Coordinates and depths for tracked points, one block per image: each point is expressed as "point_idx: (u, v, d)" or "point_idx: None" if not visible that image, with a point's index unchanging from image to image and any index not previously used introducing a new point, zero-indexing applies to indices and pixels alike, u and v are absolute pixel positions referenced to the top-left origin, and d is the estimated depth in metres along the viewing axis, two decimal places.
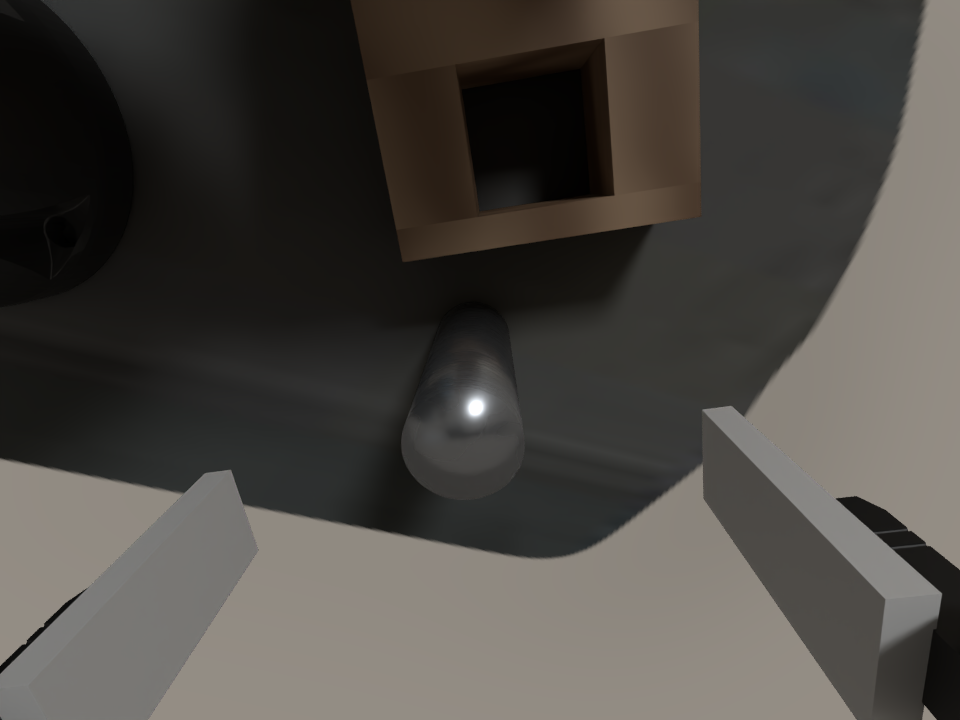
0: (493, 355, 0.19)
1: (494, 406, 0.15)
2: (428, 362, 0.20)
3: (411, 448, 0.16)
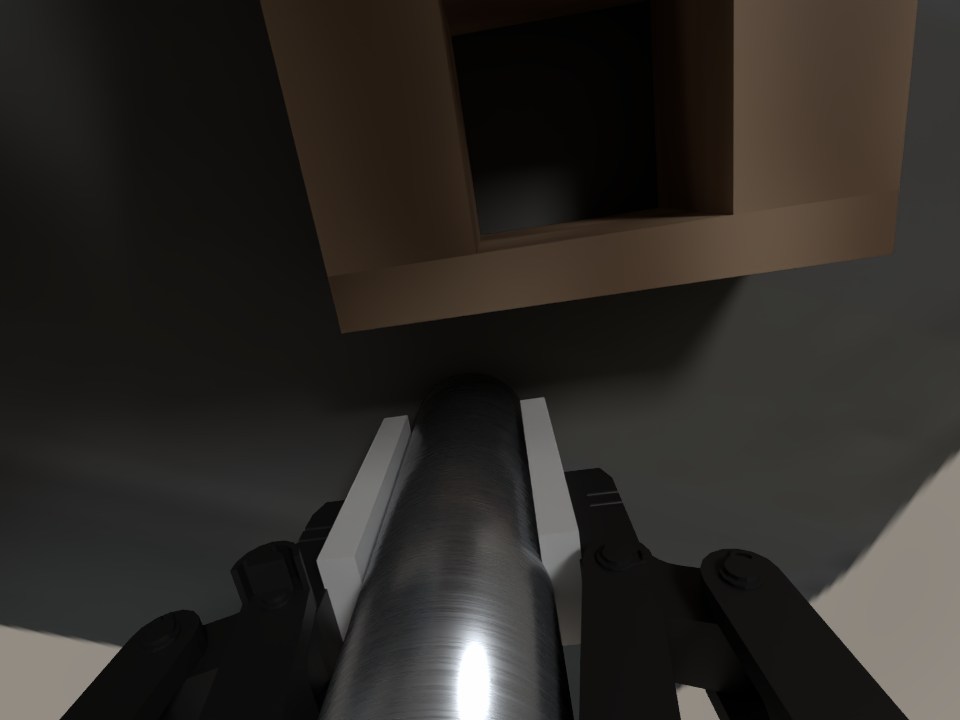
0: (509, 531, 0.10)
1: None
2: (384, 530, 0.10)
3: None
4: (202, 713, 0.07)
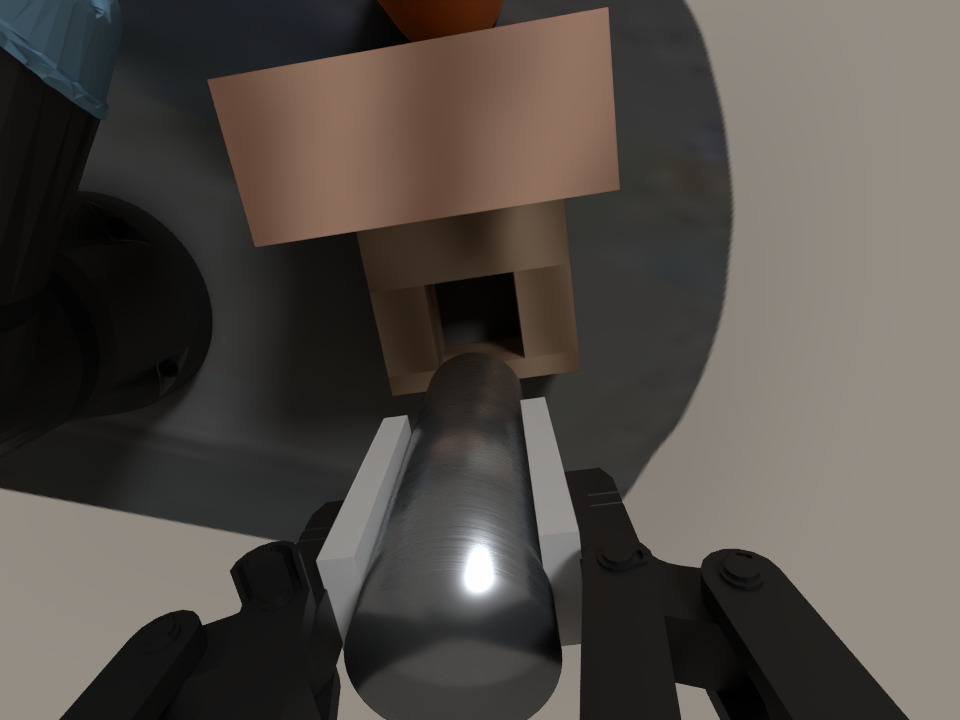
0: (505, 462, 0.12)
1: (508, 600, 0.08)
2: (405, 466, 0.13)
3: (363, 663, 0.09)
4: (202, 713, 0.07)
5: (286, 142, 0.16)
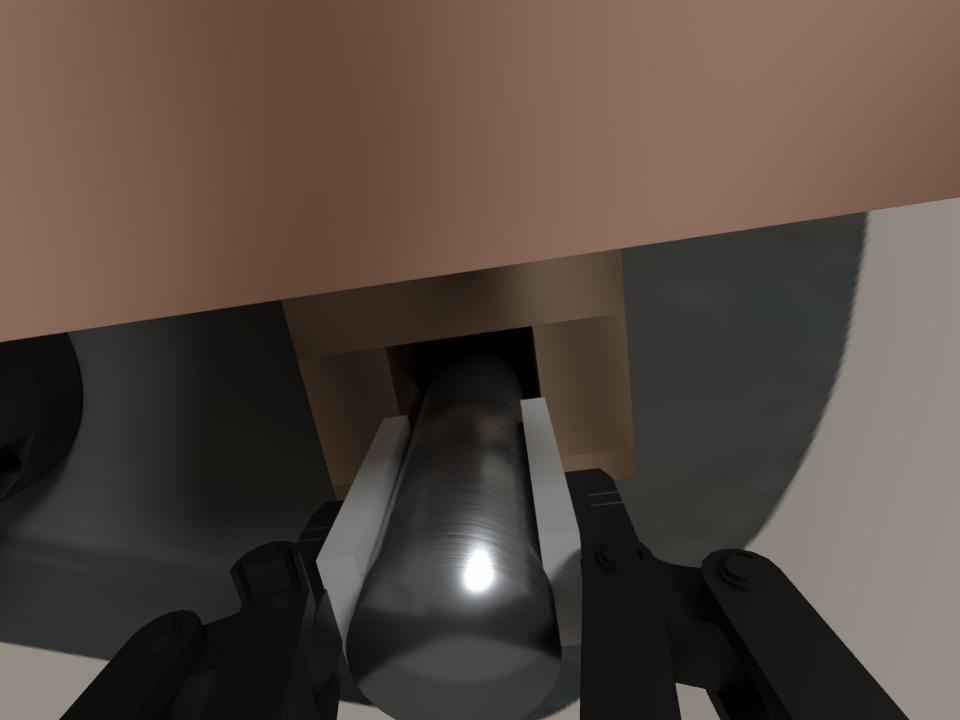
0: (504, 460, 0.12)
1: (508, 596, 0.09)
2: (405, 465, 0.13)
3: (364, 658, 0.09)
4: (201, 713, 0.07)
5: None
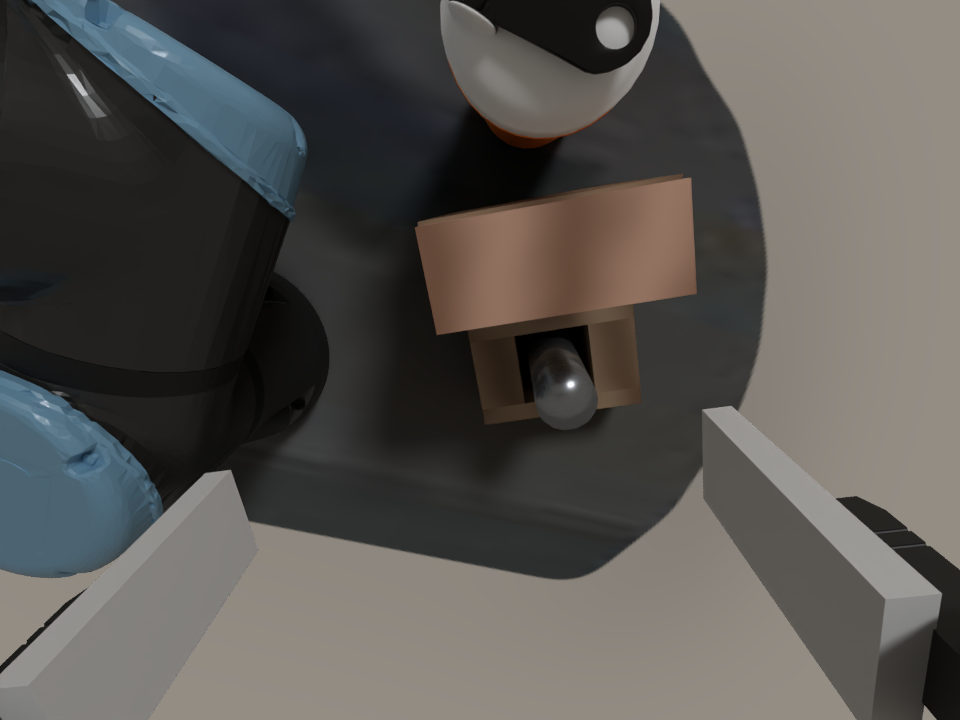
0: (574, 356, 0.35)
1: (583, 380, 0.31)
2: (536, 361, 0.35)
3: (540, 403, 0.31)
4: None
5: (464, 266, 0.23)
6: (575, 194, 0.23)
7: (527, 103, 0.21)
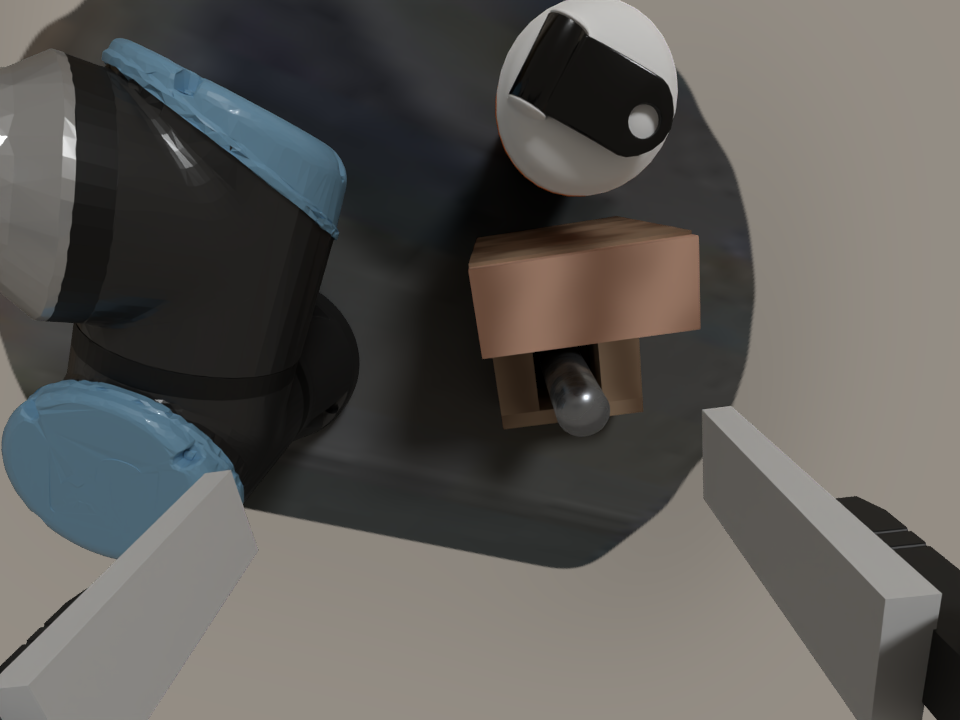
0: (587, 371, 0.39)
1: (597, 394, 0.35)
2: (553, 375, 0.40)
3: (560, 413, 0.36)
4: None
5: (508, 302, 0.27)
6: (602, 244, 0.27)
7: (567, 174, 0.25)
